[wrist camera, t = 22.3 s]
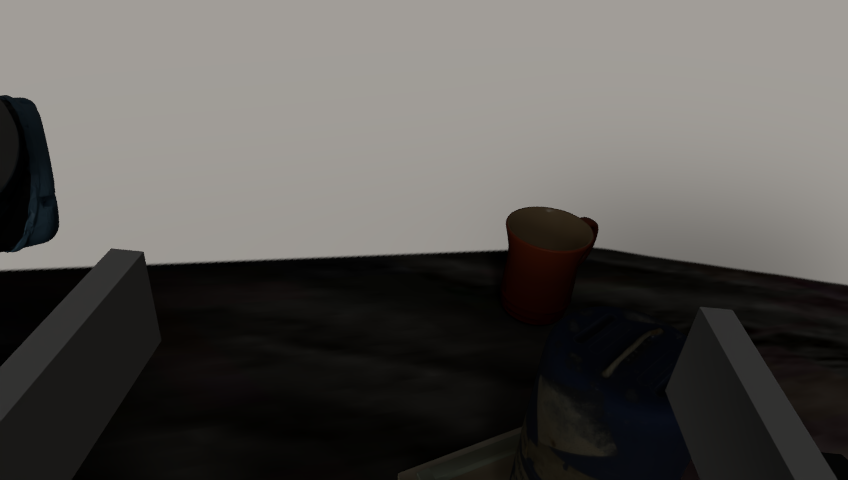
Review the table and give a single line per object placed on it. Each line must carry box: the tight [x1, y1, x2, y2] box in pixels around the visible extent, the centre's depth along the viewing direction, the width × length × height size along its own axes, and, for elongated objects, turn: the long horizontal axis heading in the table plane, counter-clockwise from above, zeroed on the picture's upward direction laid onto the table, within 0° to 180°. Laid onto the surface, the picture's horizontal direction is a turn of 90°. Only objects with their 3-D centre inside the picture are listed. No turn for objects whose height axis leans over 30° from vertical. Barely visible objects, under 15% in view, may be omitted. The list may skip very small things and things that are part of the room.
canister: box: [509, 306, 691, 480], centre depth 37 cm, size 10×10×18 cm
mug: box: [500, 207, 598, 325], centre depth 63 cm, size 12×9×10 cm
